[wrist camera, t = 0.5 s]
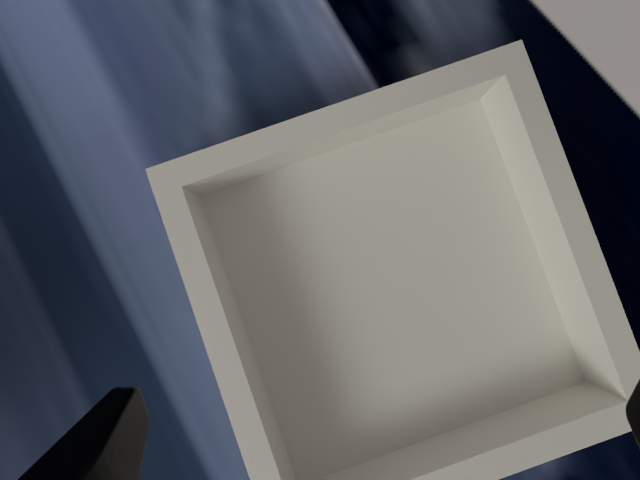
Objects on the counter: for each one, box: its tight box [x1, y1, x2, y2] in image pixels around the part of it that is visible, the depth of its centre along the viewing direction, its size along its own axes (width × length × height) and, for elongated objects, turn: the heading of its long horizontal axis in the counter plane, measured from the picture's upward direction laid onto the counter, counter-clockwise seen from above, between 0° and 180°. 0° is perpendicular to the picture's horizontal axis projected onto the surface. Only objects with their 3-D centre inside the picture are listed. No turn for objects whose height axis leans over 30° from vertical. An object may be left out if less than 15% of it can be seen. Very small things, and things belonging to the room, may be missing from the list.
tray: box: [145, 40, 640, 480], centre depth 21 cm, size 17×17×4 cm
